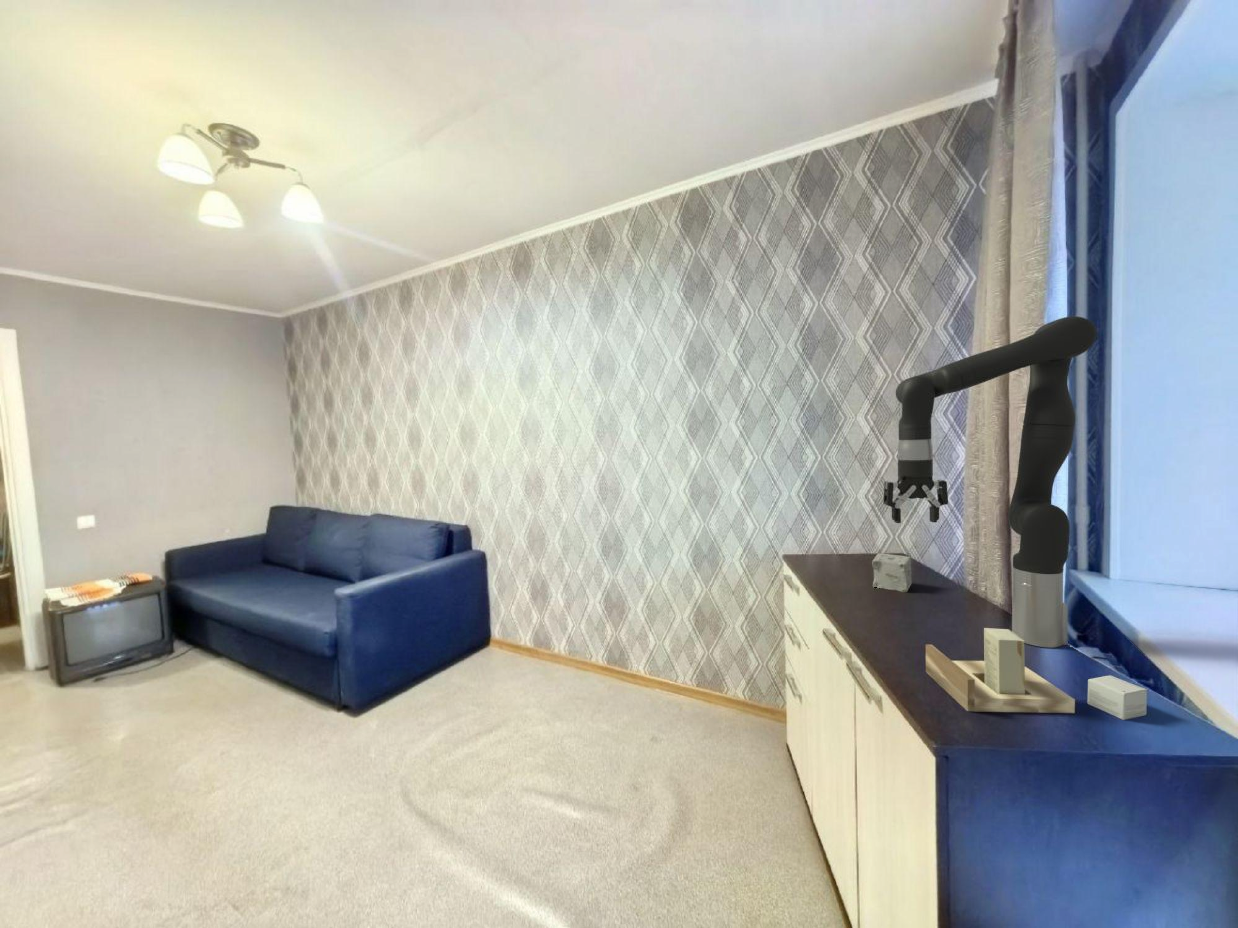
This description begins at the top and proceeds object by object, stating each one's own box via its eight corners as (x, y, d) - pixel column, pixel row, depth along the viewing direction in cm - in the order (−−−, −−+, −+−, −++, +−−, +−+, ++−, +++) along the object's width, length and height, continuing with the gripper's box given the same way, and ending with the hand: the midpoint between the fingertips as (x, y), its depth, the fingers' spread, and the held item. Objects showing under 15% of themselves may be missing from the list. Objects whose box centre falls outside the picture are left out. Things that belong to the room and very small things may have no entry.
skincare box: (1026, 706, 92) (1026, 641, 91) (998, 704, 93) (999, 640, 92) (1008, 688, 98) (1009, 627, 97) (983, 686, 99) (983, 626, 98)
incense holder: (871, 588, 161) (871, 557, 160) (879, 582, 167) (878, 551, 166) (905, 594, 154) (905, 561, 153) (912, 587, 160) (912, 555, 159)
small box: (1147, 715, 88) (1148, 688, 88) (1123, 721, 87) (1123, 693, 86) (1109, 699, 93) (1109, 673, 93) (1086, 704, 92) (1086, 678, 92)
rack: (1016, 672, 104) (1017, 644, 104) (1074, 712, 89) (1075, 680, 89) (925, 671, 106) (925, 644, 106) (967, 711, 91) (967, 679, 91)
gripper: (891, 459, 121) (892, 525, 122) (953, 457, 119) (954, 524, 120) (878, 458, 128) (879, 520, 129) (937, 455, 127) (937, 519, 128)
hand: (915, 522), depth 125 cm, fingers open, 8 cm apart
